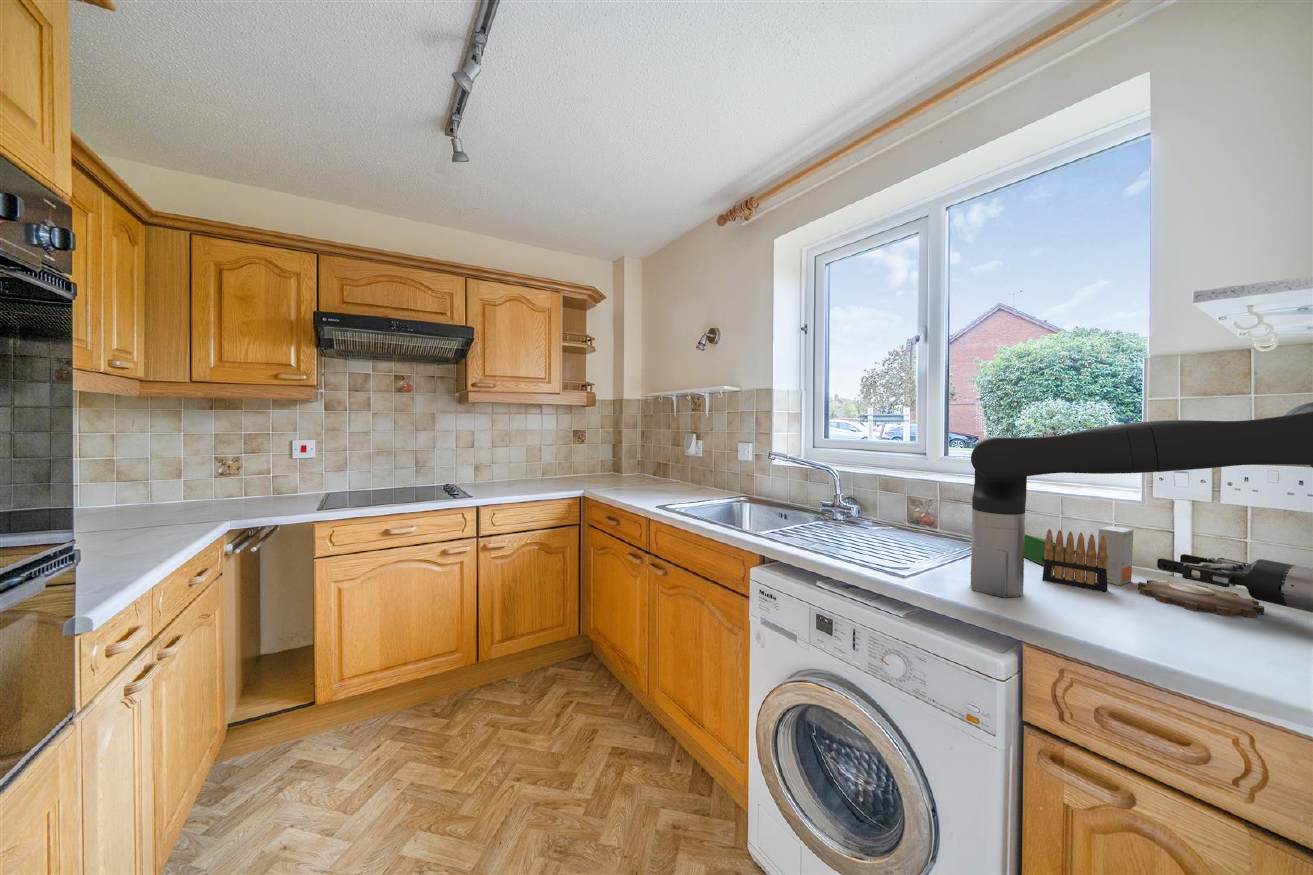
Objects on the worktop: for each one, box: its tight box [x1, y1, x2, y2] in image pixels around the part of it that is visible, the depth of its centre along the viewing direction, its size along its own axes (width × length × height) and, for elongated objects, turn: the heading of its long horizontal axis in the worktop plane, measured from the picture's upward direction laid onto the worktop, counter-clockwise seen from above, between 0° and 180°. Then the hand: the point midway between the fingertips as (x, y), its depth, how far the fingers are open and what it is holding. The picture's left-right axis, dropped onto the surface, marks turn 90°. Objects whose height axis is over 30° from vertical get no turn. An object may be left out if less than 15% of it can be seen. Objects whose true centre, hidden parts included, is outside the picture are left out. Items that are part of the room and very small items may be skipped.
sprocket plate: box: [1137, 579, 1265, 618], centre depth 95 cm, size 17×17×1 cm
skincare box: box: [1097, 525, 1134, 586], centre depth 106 cm, size 6×4×12 cm
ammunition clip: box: [1042, 528, 1109, 594], centre depth 103 cm, size 11×2×12 cm, turn 45°
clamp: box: [1024, 534, 1066, 568], centre depth 120 cm, size 12×6×9 cm, turn 165°
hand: (1169, 560), depth 97 cm, fingers open, 8 cm apart
